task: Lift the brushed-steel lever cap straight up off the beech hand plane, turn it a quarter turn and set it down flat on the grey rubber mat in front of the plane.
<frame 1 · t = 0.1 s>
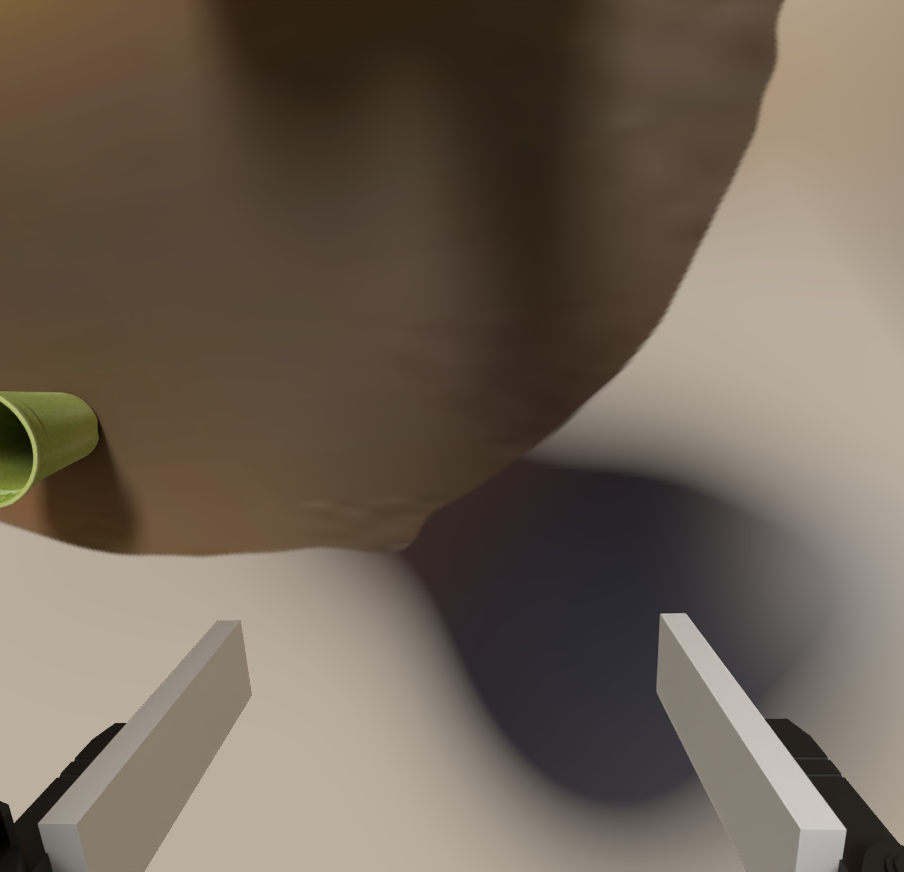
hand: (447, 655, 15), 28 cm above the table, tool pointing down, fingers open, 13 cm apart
plant pot: (70, 425, 44), on the table
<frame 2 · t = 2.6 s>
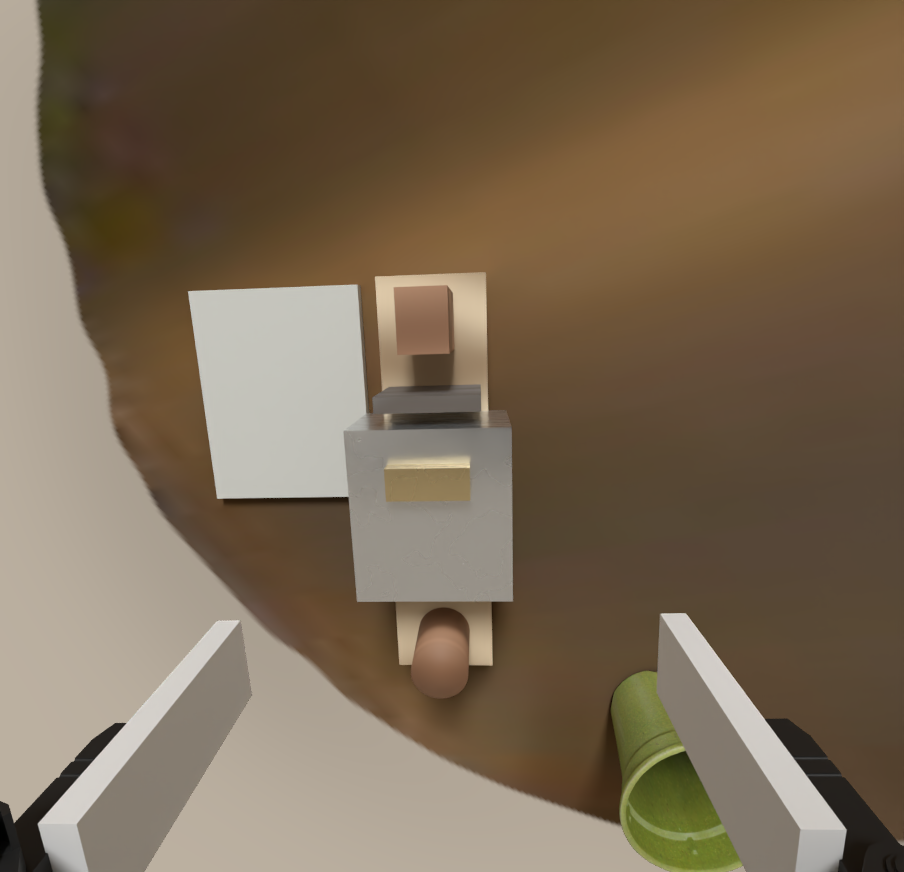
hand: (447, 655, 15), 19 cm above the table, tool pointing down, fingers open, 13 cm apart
hand plane: (444, 464, 34), on the table
lever cap: (438, 486, 29), point 5 cm above the table, touching hand plane
rubber mat: (287, 395, 34), on the table
plant pot: (650, 701, 37), on the table
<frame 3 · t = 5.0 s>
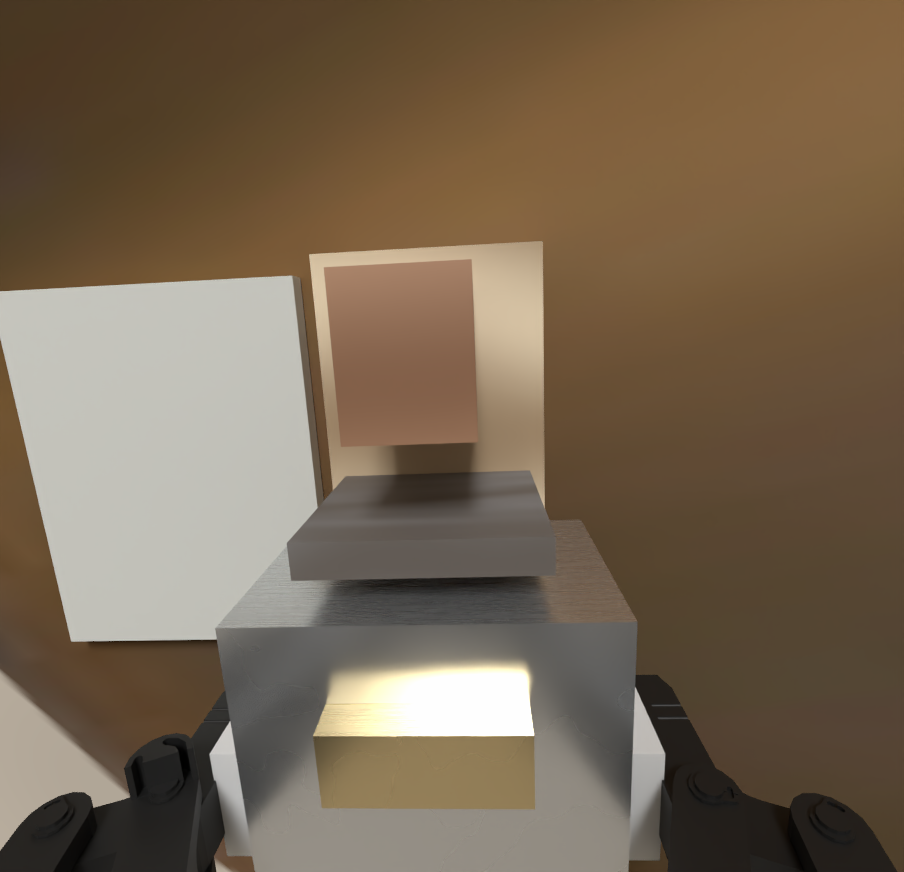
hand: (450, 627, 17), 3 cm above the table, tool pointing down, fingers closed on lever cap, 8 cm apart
hand plane: (453, 580, 20), on the table
lever cap: (447, 661, 15), point 5 cm above the table, touching gripper, hand plane
rubber mat: (183, 469, 20), on the table
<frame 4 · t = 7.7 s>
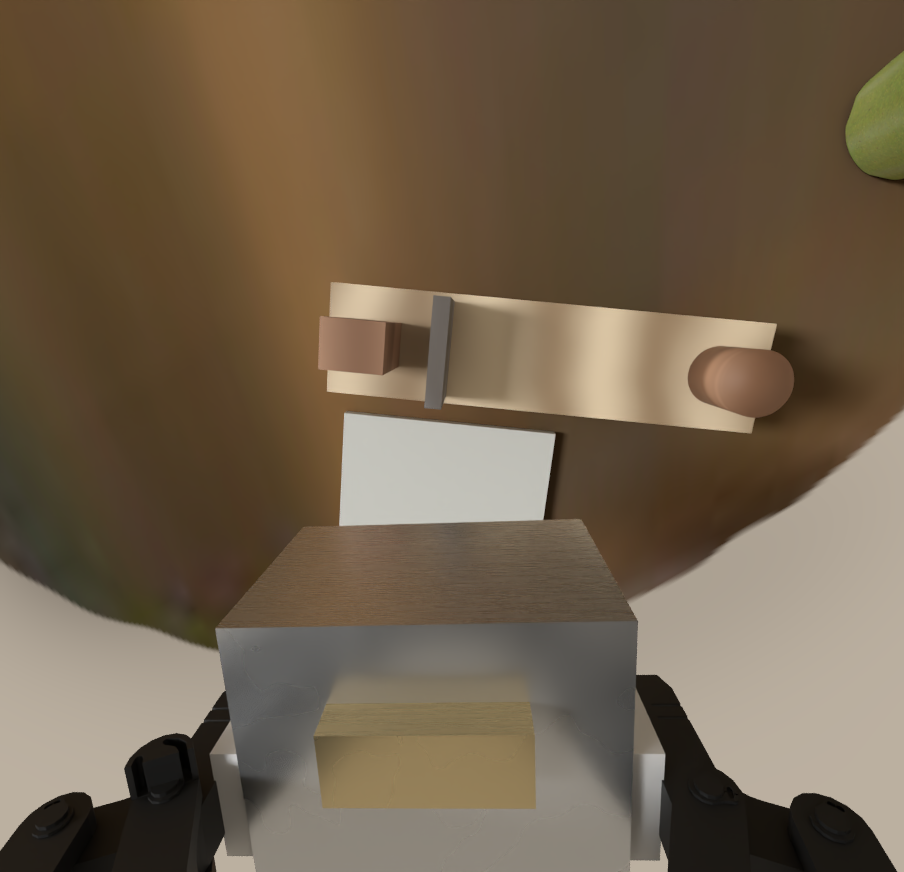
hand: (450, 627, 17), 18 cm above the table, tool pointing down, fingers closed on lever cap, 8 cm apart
hand plane: (533, 353, 32), on the table
lever cap: (447, 660, 15), point 19 cm above the table, touching gripper
rubber mat: (442, 497, 35), on the table
plant pot: (894, 123, 28), on the table
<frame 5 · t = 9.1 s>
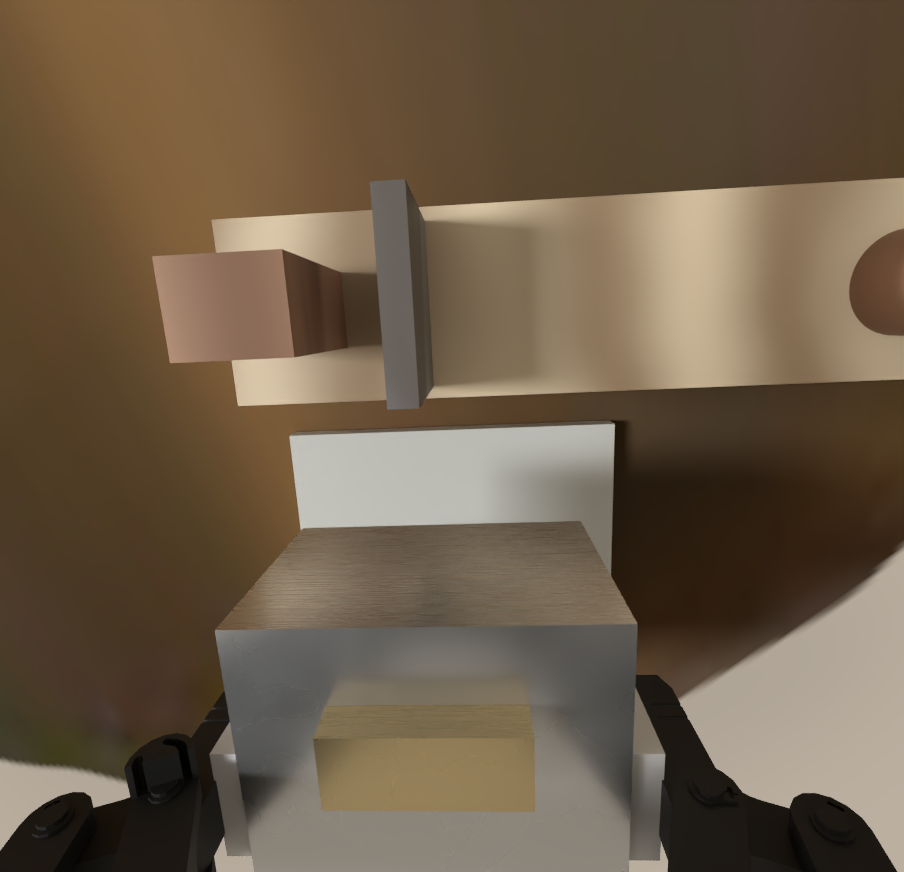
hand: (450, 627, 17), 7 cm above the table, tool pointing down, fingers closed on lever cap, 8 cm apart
hand plane: (563, 304, 21), on the table
lever cap: (447, 662, 15), point 8 cm above the table, touching gripper
rubber mat: (455, 540, 23), on the table
when the fingers open (1 cm above the table, at t = 10.5 s): lever cap drops 2 cm, resting on rubber mat.
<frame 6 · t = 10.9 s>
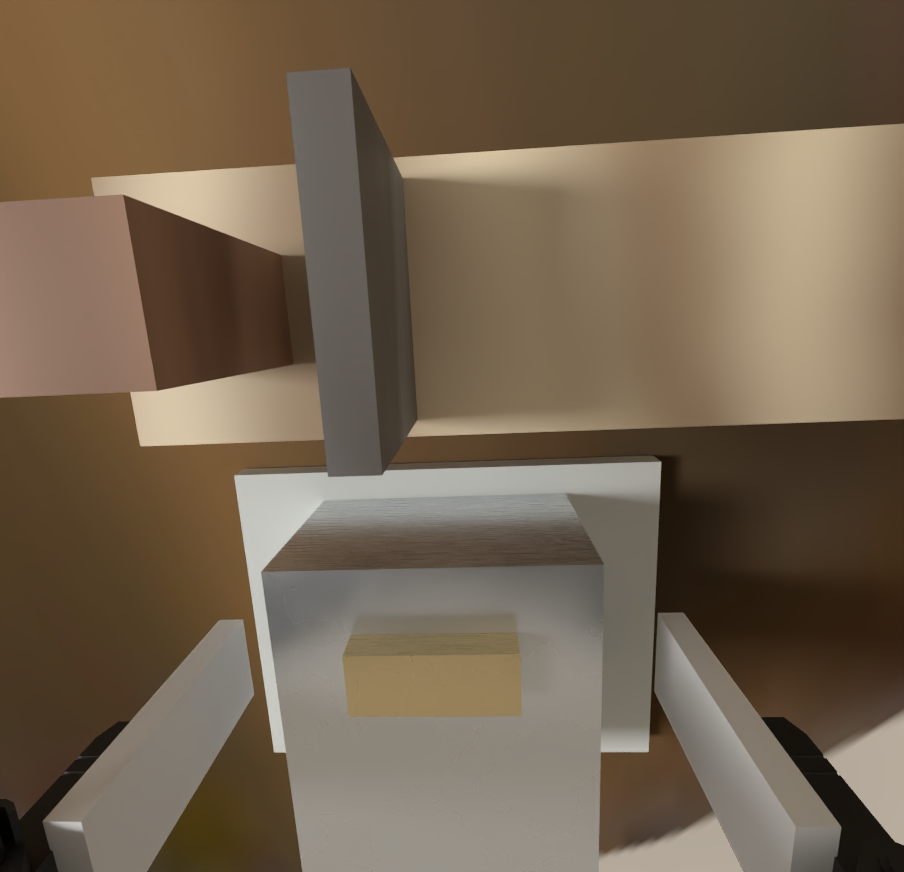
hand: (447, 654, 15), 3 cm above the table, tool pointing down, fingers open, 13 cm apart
hand plane: (594, 304, 16), on the table
lever cap: (449, 618, 17), point 1 cm above the table, touching rubber mat
rubber mat: (451, 607, 18), on the table
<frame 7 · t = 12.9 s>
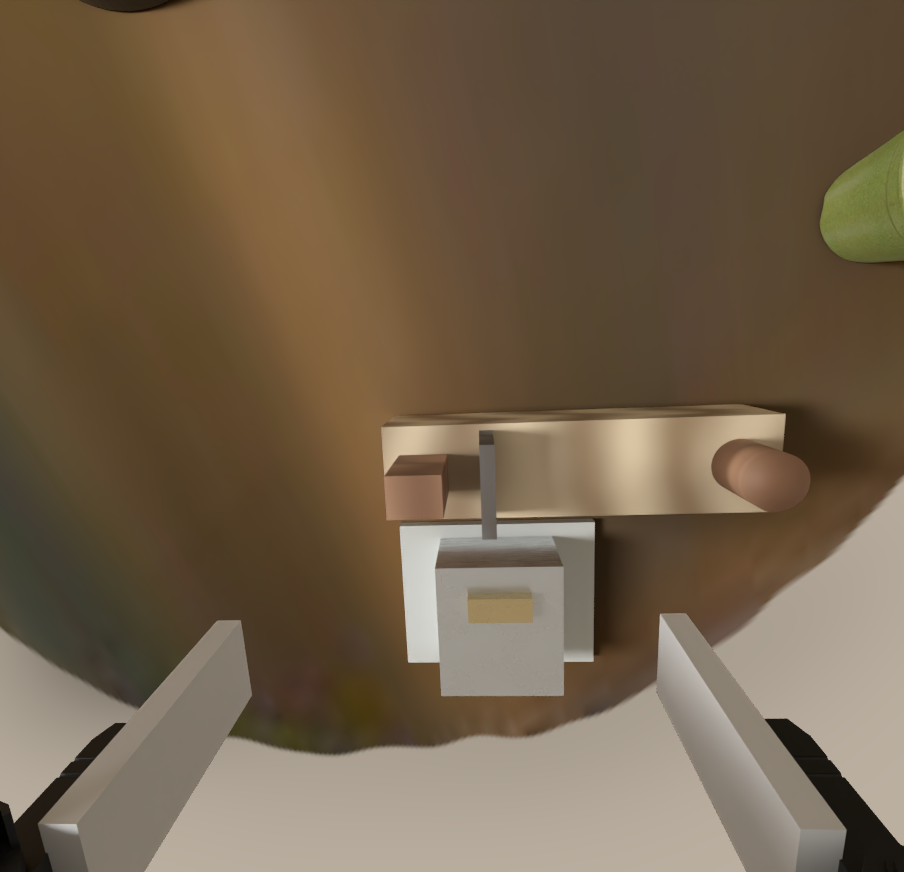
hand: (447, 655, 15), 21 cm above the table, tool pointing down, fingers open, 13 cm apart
hand plane: (564, 451, 35), on the table
lever cap: (497, 594, 36), point 1 cm above the table, touching rubber mat
rubber mat: (497, 589, 37), on the table
plant pot: (863, 213, 32), on the table
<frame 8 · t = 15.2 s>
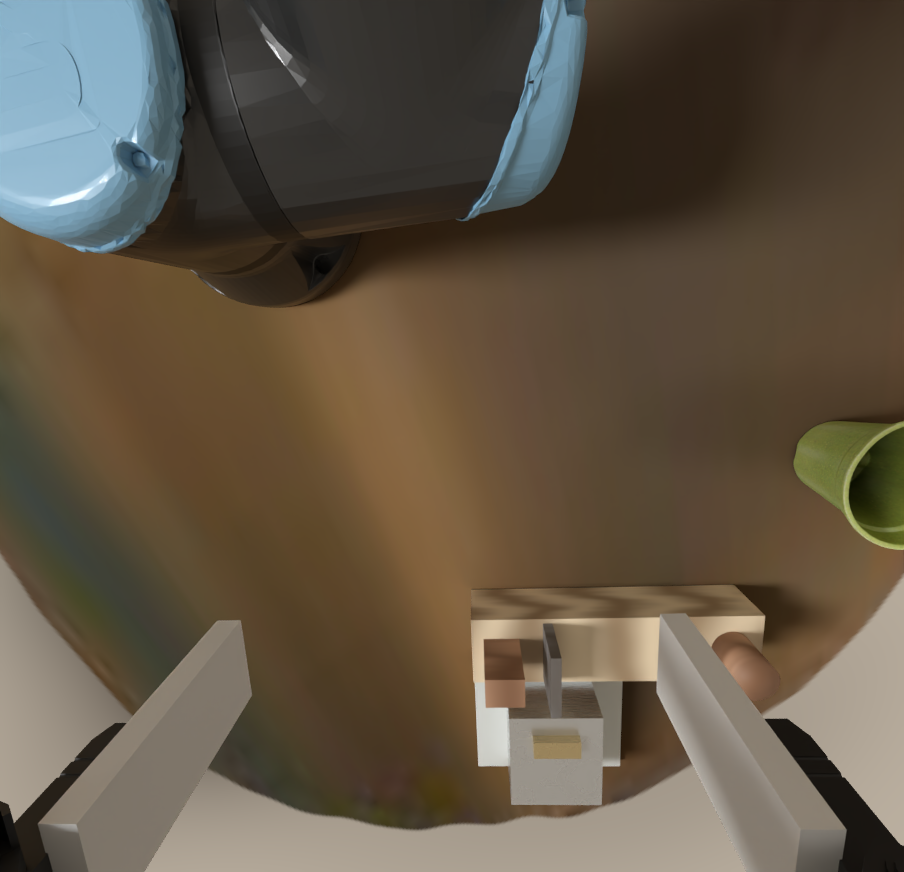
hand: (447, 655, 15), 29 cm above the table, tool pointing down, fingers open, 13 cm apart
hand plane: (600, 616, 46), on the table
lever cap: (547, 718, 48), point 1 cm above the table, touching rubber mat
rubber mat: (547, 712, 49), on the table
plant pot: (826, 454, 42), on the table
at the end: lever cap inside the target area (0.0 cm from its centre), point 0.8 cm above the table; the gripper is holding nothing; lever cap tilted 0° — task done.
